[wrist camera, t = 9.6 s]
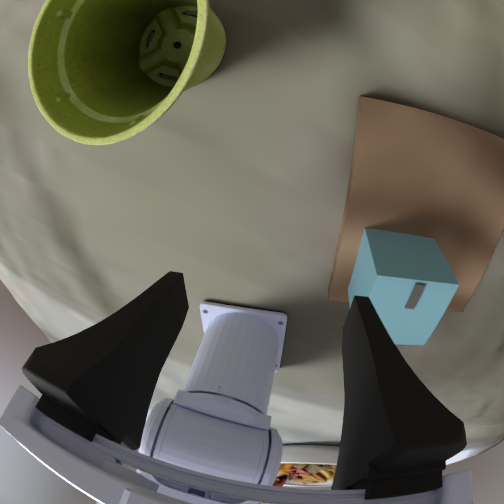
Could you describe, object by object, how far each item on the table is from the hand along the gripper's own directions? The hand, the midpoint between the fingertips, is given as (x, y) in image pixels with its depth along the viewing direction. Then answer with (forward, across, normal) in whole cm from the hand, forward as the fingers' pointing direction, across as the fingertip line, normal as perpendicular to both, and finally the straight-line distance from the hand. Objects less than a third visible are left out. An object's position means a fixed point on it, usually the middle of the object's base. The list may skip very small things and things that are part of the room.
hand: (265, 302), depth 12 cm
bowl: (+10, -12, +59) cm, 61 cm away
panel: (+9, -10, 0) cm, 14 cm away
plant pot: (+10, +7, -11) cm, 16 cm away
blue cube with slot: (+8, -8, +3) cm, 12 cm away
